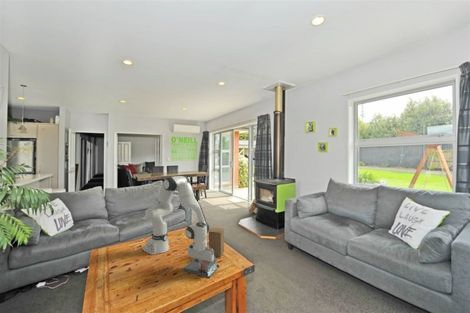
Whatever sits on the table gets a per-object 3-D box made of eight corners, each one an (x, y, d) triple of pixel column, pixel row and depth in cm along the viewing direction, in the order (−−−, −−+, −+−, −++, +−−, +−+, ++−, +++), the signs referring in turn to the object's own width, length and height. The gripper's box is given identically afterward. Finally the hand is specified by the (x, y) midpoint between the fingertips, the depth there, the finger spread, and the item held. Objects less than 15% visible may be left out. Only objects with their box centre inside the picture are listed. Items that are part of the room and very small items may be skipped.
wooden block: (220, 257, 161) (220, 232, 160) (208, 256, 163) (208, 231, 162) (224, 251, 171) (223, 227, 170) (212, 250, 173) (212, 227, 172)
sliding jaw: (198, 271, 140) (198, 262, 140) (206, 263, 150) (206, 255, 150) (200, 271, 139) (200, 263, 139) (208, 263, 150) (208, 255, 149)
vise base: (182, 270, 144) (182, 260, 143) (194, 260, 156) (193, 251, 156) (209, 278, 135) (209, 266, 135) (219, 267, 148) (219, 256, 148)
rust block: (202, 270, 141) (202, 262, 141) (207, 265, 148) (207, 257, 147) (207, 272, 140) (207, 263, 139) (212, 266, 146) (212, 258, 146)
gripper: (215, 246, 144) (215, 266, 144) (191, 241, 152) (191, 259, 153) (211, 250, 138) (211, 270, 139) (186, 245, 146) (186, 263, 147)
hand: (200, 264), depth 146 cm, fingers closed
